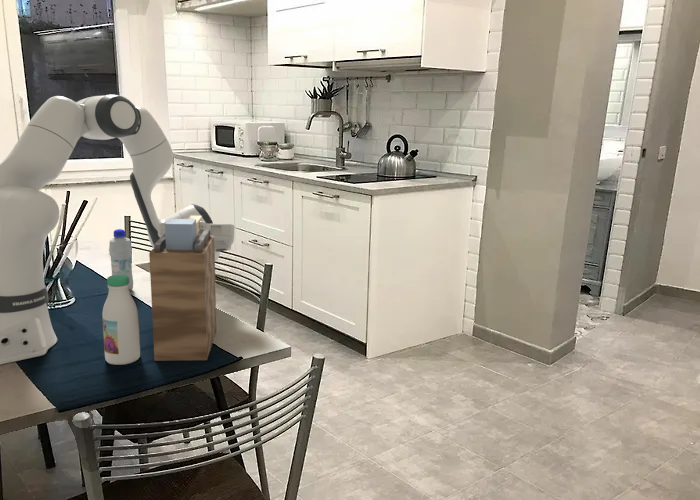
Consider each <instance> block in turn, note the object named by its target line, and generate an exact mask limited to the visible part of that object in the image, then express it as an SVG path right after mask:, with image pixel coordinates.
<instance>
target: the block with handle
mask: <svg viewBox="0 0 700 500" xmlns="http://www.w3.org/2000/svg"><path fill="white" fill-rule="evenodd" d="M199 221H202V216H190V217H189V218H188V219H169V220H168V221H167V222H166V223H165V238H166V250H193V249H194V245H195V243H196V242H197V234H198V232H199V231H200V228H199Z"/></svg>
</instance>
